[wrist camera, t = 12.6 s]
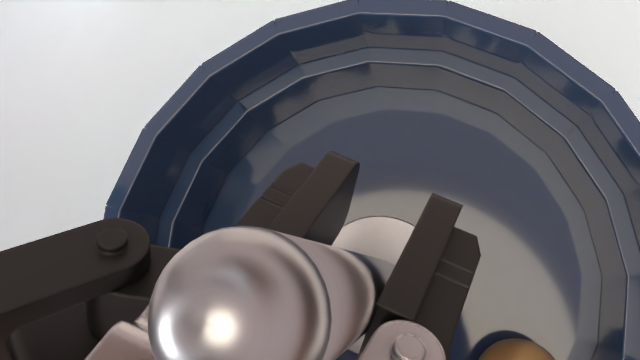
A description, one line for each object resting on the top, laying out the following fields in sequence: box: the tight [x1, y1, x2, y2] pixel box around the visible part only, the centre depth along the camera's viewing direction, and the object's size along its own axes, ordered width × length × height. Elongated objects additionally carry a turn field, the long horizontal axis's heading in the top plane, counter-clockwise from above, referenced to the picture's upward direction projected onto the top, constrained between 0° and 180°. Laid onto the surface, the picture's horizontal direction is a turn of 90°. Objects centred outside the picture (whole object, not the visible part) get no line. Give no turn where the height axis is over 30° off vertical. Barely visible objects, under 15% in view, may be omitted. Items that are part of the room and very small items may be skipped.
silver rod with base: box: [148, 216, 415, 360], centre depth 14 cm, size 5×5×18 cm
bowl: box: [103, 0, 640, 360], centre depth 21 cm, size 18×18×6 cm
